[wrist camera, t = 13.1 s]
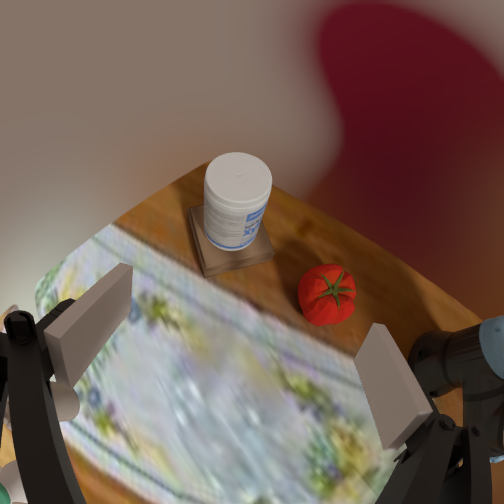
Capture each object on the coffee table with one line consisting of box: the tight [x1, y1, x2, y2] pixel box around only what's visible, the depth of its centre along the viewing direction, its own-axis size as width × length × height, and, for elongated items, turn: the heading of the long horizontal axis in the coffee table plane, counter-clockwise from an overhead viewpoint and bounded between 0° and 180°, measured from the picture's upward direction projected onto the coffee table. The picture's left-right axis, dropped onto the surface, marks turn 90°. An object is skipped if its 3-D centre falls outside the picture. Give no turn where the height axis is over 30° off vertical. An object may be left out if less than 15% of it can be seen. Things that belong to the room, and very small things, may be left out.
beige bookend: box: [3, 381, 80, 431], centre depth 27 cm, size 7×14×20 cm, turn 97°
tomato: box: [298, 264, 356, 326], centre depth 48 cm, size 11×11×9 cm
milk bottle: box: [0, 460, 28, 504], centre depth 21 cm, size 8×8×20 cm
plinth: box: [187, 205, 275, 278], centre depth 53 cm, size 13×13×4 cm
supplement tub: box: [204, 152, 272, 251], centre depth 44 cm, size 10×10×15 cm
